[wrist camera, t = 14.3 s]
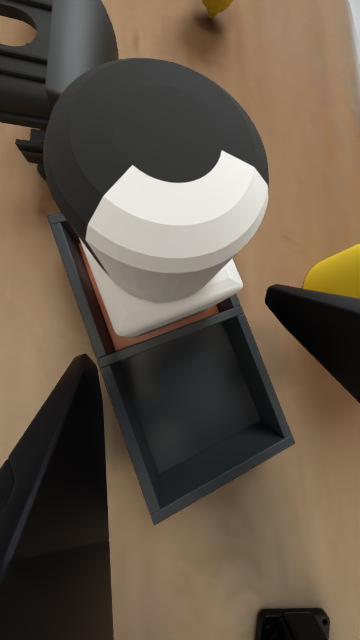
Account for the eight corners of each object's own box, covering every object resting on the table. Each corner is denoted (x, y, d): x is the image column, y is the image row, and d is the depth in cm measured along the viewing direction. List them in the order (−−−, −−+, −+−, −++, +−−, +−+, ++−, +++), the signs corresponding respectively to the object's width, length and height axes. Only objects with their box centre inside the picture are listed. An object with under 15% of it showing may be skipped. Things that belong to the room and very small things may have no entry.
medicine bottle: (103, 263, 15) (-63, 2, 3) (178, 240, 17) (242, -2, 5) (133, 338, 15) (59, 337, 3) (206, 310, 16) (350, 233, 4)
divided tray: (266, 422, 17) (295, 443, 13) (153, 482, 15) (154, 526, 11) (185, 214, 18) (193, 183, 14) (69, 242, 16) (46, 215, 12)
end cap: (122, 195, 17) (102, 101, 10) (41, 185, 16) (-41, 73, 9) (125, 106, 18) (109, -31, 11) (49, 91, 17) (-19, -70, 10)
